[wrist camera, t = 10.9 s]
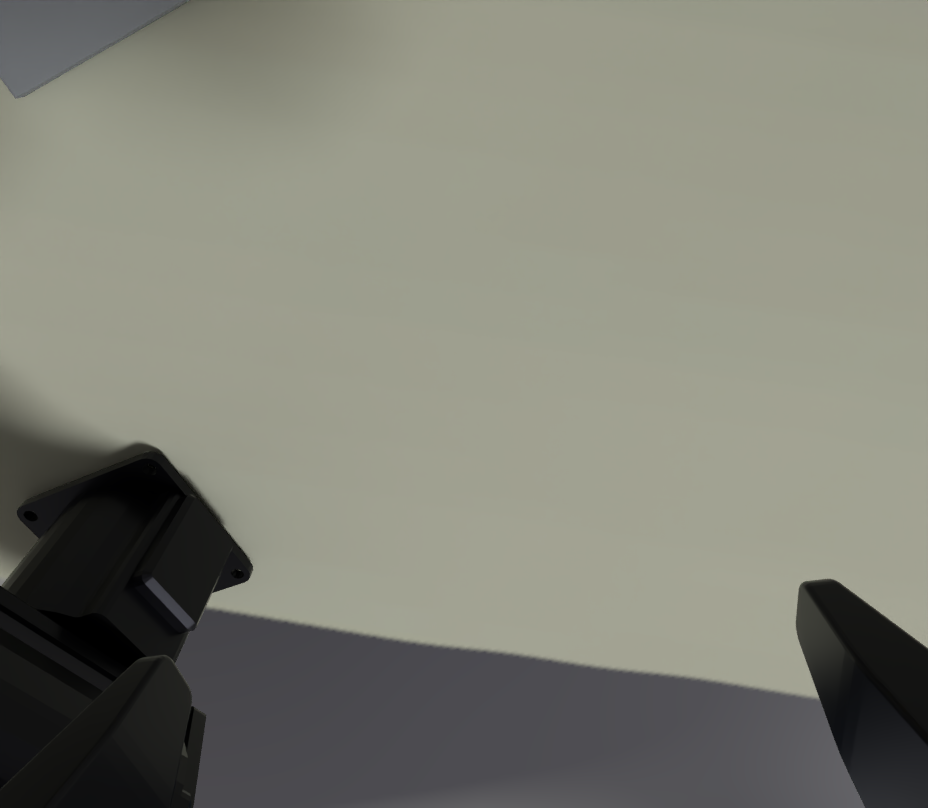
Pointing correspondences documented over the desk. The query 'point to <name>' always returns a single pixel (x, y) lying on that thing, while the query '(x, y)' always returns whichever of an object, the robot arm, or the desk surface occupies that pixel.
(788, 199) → the desk surface
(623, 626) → the desk surface
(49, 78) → the mat
